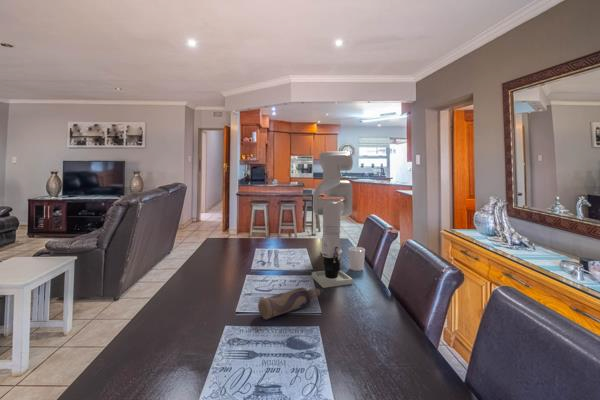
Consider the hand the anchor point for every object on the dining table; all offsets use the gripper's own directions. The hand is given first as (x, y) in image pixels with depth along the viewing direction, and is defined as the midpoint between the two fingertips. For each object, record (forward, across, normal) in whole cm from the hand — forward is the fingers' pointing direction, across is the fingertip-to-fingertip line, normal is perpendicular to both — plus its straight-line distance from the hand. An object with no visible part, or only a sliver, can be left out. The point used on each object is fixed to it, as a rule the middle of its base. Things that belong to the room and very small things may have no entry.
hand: (331, 267), depth 129 cm
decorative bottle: (+6, +21, -24) cm, 32 cm away
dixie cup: (+5, 0, 0) cm, 5 cm away
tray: (+6, 0, 0) cm, 6 cm away
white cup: (+6, -10, +18) cm, 21 cm away
